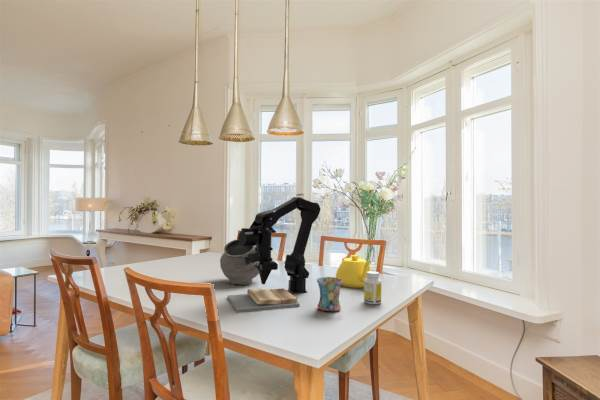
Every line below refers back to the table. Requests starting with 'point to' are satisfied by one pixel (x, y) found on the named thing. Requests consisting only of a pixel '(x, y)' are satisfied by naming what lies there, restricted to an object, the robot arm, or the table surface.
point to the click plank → (264, 296)
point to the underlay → (254, 304)
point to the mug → (329, 293)
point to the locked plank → (284, 296)
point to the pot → (237, 263)
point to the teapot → (353, 271)
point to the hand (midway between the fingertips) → (263, 284)
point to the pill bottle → (372, 288)
